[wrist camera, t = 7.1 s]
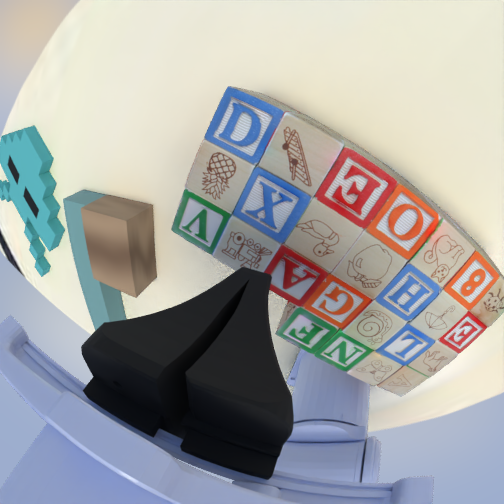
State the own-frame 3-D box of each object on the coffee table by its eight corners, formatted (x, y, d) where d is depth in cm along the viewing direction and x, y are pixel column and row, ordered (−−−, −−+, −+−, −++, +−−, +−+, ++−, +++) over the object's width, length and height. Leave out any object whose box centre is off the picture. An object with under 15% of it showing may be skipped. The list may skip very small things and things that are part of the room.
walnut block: (158, 275, 27) (136, 297, 24) (116, 260, 29) (93, 278, 25) (154, 204, 23) (126, 220, 20) (108, 193, 24) (80, 208, 21)
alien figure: (50, 270, 36) (82, 196, 26) (41, 276, 34) (68, 203, 24) (1, 186, 32) (23, 98, 22) (-8, 191, 30) (11, 100, 20)
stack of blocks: (262, 90, 16) (198, 228, 23) (227, 80, 11) (156, 266, 18) (486, 253, 16) (395, 345, 23) (519, 299, 11) (399, 398, 17)
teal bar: (131, 341, 35) (120, 354, 33) (111, 330, 36) (100, 343, 34) (106, 194, 24) (85, 205, 22) (83, 189, 25) (63, 199, 22)
